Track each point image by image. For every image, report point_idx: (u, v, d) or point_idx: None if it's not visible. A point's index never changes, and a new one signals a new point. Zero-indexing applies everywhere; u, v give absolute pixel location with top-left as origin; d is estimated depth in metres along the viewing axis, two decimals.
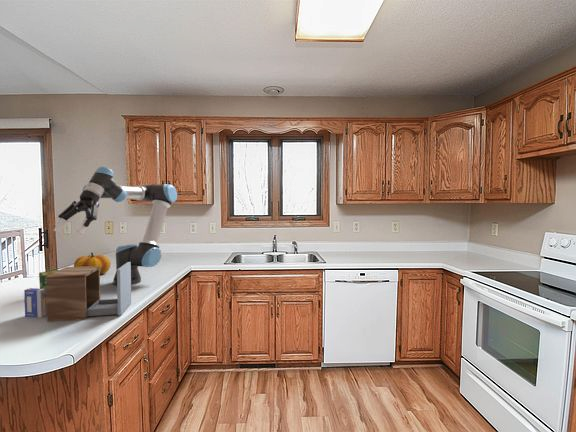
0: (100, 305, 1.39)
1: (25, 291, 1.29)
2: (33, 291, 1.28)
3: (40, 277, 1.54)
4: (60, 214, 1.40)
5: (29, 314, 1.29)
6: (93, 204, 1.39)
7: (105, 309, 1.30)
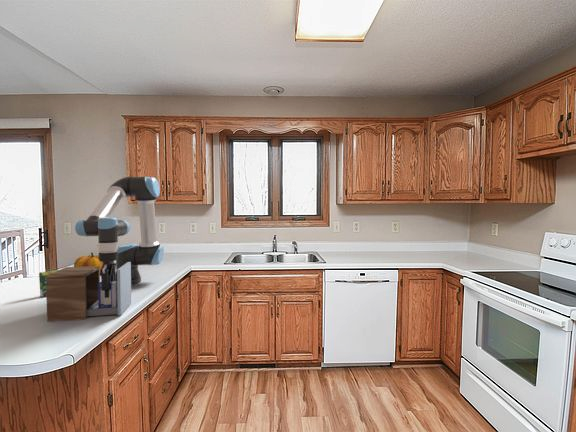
0: None
1: (99, 284, 1.35)
2: None
3: (40, 277, 1.54)
4: None
5: (103, 306, 1.35)
6: None
7: (105, 309, 1.30)
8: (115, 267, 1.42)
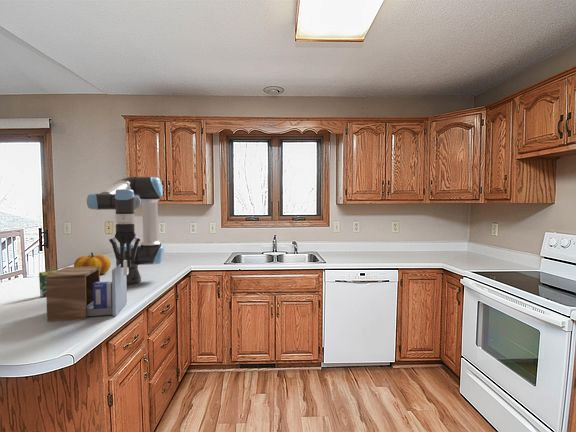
0: None
1: (94, 284, 1.34)
2: (103, 284, 1.34)
3: (40, 277, 1.54)
4: (116, 256, 1.36)
5: (98, 306, 1.35)
6: (136, 242, 1.37)
7: (100, 309, 1.30)
8: None
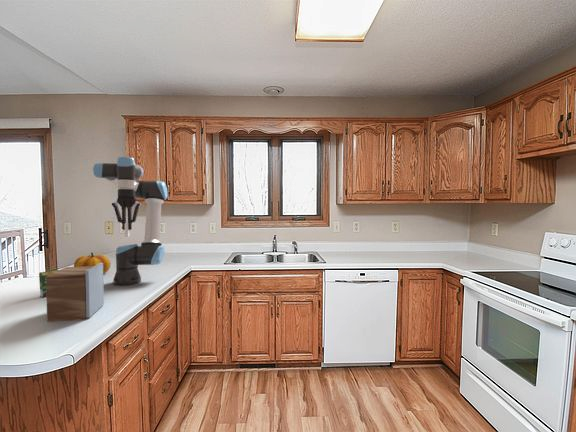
0: None
1: None
2: None
3: (40, 277, 1.54)
4: (118, 219, 1.47)
5: None
6: (137, 206, 1.49)
7: None
8: None
